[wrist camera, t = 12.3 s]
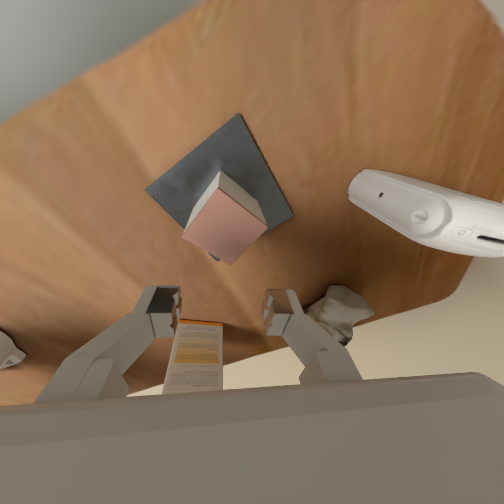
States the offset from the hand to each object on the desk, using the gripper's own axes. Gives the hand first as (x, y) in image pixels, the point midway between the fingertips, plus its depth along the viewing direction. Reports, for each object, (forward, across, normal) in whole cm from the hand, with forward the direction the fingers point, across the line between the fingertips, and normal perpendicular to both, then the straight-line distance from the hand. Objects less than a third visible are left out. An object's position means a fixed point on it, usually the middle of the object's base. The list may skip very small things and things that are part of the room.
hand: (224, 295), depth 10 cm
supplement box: (+14, +3, +25) cm, 29 cm away
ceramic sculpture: (+14, -19, +18) cm, 30 cm away
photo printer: (+14, -19, -4) cm, 24 cm away
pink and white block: (+14, 0, 0) cm, 14 cm away
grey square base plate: (+14, 0, 0) cm, 14 cm away
